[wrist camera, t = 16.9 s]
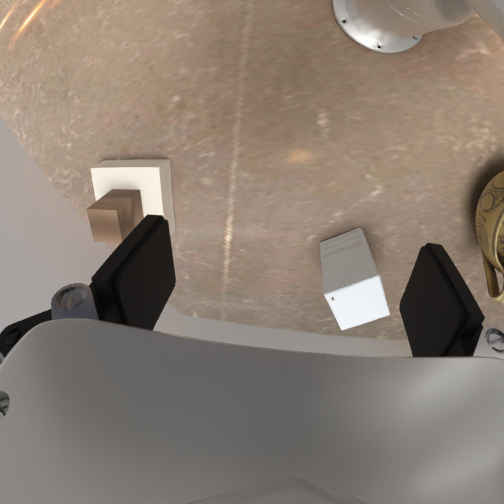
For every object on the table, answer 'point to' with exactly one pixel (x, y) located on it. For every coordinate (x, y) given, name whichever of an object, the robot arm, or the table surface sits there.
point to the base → (139, 183)
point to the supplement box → (352, 280)
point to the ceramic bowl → (492, 233)
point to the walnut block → (115, 215)
